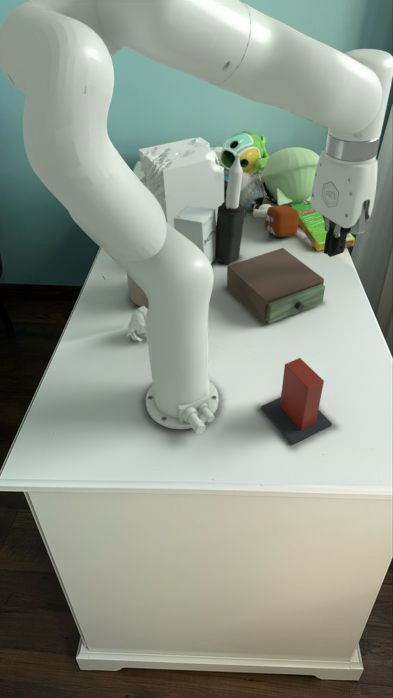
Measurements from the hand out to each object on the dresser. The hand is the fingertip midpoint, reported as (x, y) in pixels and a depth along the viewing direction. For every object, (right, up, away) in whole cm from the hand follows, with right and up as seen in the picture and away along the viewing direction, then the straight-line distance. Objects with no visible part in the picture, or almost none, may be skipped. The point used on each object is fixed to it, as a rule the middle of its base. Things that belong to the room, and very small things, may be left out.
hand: (333, 252), depth 88 cm
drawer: (-6, -6, +21) cm, 23 cm away
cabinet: (-7, -5, +23) cm, 25 cm away
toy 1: (0, +37, +51) cm, 63 cm away
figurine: (-31, -14, +15) cm, 37 cm away
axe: (-39, +37, +70) cm, 89 cm away
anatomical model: (-7, +29, +54) cm, 62 cm away
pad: (-7, -28, -3) cm, 29 cm away
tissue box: (-17, +28, +45) cm, 56 cm away
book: (-7, -28, -3) cm, 29 cm away
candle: (-17, +5, +35) cm, 39 cm away
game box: (+10, +8, +36) cm, 39 cm away
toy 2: (-7, +21, +50) cm, 54 cm away
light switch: (-17, +43, +75) cm, 88 cm away
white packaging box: (-23, +4, +34) cm, 42 cm away
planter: (-33, -5, +25) cm, 42 cm away
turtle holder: (-5, +44, +70) cm, 83 cm away
